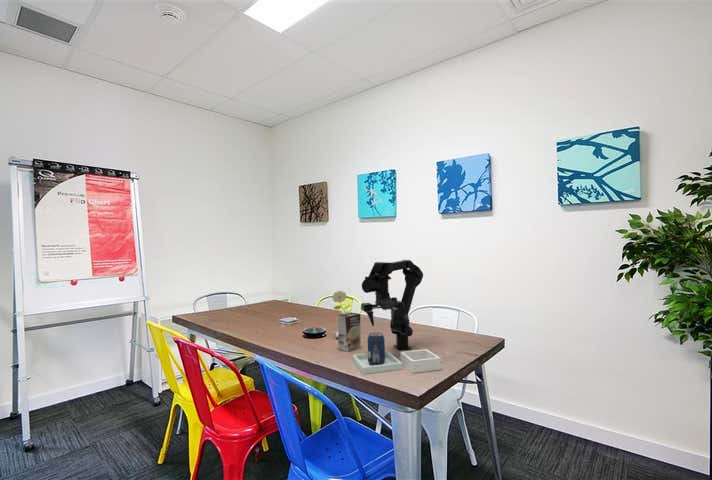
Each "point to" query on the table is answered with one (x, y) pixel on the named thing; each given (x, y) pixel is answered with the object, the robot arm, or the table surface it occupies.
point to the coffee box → (349, 332)
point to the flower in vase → (339, 298)
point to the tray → (366, 368)
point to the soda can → (376, 349)
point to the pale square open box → (420, 361)
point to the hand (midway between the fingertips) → (382, 325)
